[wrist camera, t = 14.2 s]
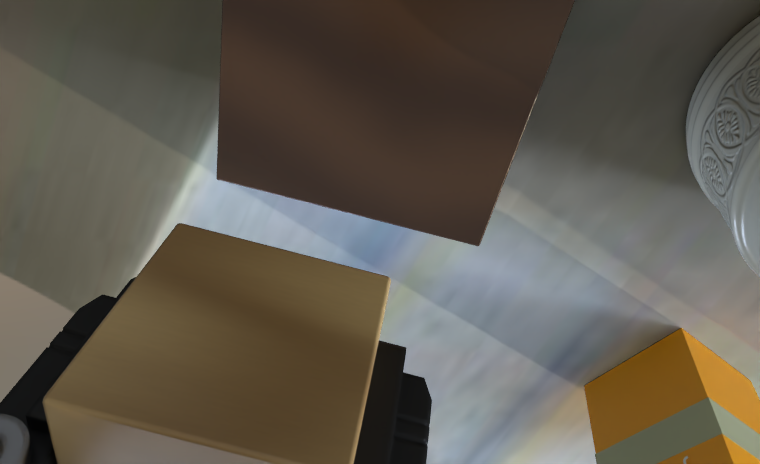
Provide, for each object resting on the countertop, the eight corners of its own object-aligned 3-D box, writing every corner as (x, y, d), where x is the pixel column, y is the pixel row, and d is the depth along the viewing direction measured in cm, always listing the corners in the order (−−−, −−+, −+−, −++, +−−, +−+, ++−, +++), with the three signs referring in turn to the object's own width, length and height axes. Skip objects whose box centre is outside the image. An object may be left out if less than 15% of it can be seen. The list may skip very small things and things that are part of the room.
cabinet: (306, -199, 26) (228, -210, 18) (579, -131, 26) (618, -111, 18) (277, 100, 34) (215, 180, 27) (480, 151, 34) (479, 247, 27)
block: (178, 363, 14) (75, 547, 11) (177, 220, 12) (37, 400, 8) (353, 408, 14) (309, 607, 11) (392, 275, 12) (350, 479, 8)
